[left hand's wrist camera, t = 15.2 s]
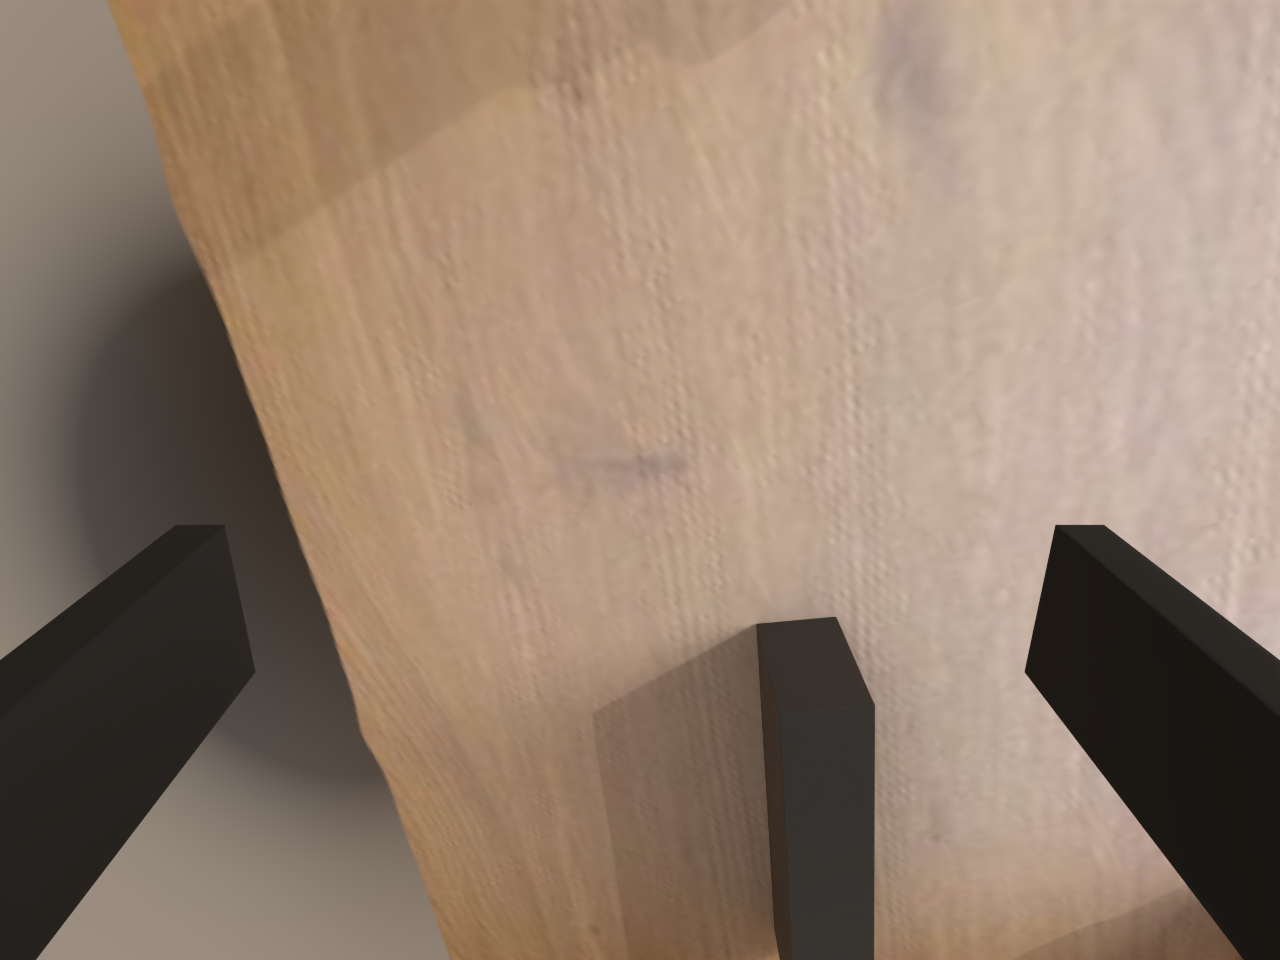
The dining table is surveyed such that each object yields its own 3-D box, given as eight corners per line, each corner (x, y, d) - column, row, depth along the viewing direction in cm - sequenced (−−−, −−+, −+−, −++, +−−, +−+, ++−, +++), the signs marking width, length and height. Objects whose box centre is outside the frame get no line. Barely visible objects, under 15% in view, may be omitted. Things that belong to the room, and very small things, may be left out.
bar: (756, 623, 48) (779, 713, 40) (836, 616, 48) (875, 705, 40) (774, 930, 57) (796, 1052, 49) (841, 925, 57) (874, 1046, 49)
